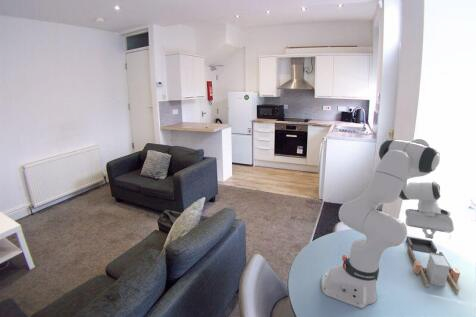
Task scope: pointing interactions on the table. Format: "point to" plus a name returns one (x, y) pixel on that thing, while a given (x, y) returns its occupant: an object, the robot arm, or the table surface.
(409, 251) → the walnut channel
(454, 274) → the posts
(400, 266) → the table surface
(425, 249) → the dark grey tray
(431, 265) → the small box
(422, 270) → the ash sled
